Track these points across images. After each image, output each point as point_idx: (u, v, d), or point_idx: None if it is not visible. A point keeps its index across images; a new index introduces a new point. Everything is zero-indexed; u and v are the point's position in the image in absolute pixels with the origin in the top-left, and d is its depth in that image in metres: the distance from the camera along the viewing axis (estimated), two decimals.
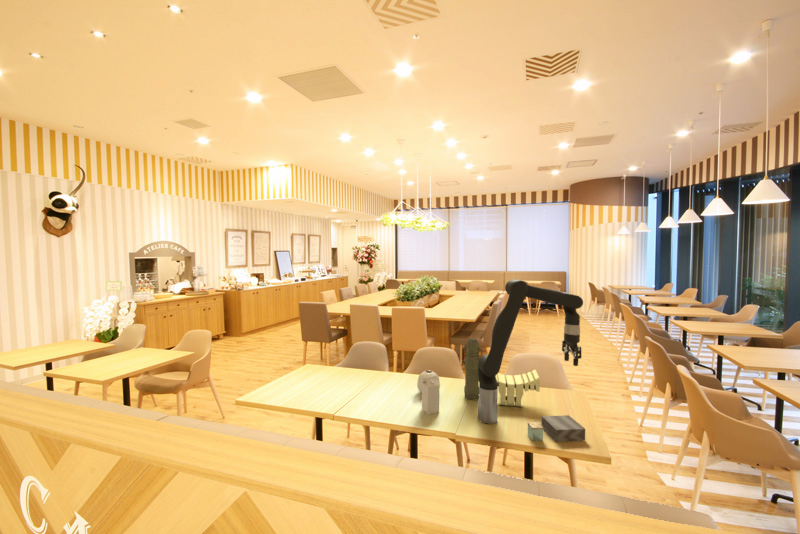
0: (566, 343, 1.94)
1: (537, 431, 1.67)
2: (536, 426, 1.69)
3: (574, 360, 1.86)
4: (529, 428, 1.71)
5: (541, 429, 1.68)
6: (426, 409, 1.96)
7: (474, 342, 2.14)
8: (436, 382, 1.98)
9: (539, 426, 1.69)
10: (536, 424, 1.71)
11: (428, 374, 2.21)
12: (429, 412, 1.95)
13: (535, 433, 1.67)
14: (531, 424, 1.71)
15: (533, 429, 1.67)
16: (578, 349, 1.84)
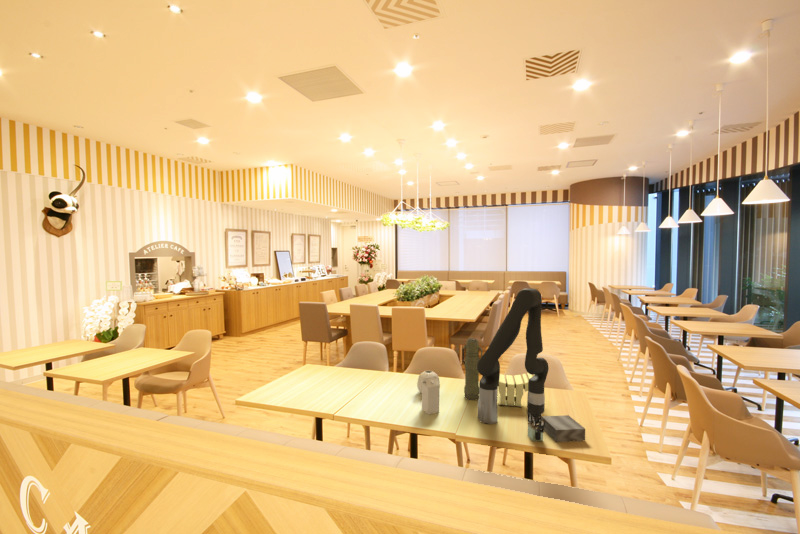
0: (530, 411, 1.73)
1: None
2: None
3: (536, 433, 1.67)
4: (529, 428, 1.71)
5: None
6: (426, 409, 1.96)
7: (474, 342, 2.14)
8: (436, 382, 1.98)
9: None
10: (536, 424, 1.71)
11: (428, 374, 2.20)
12: (429, 412, 1.95)
13: (535, 433, 1.67)
14: (531, 424, 1.71)
15: (533, 429, 1.67)
16: (541, 424, 1.63)
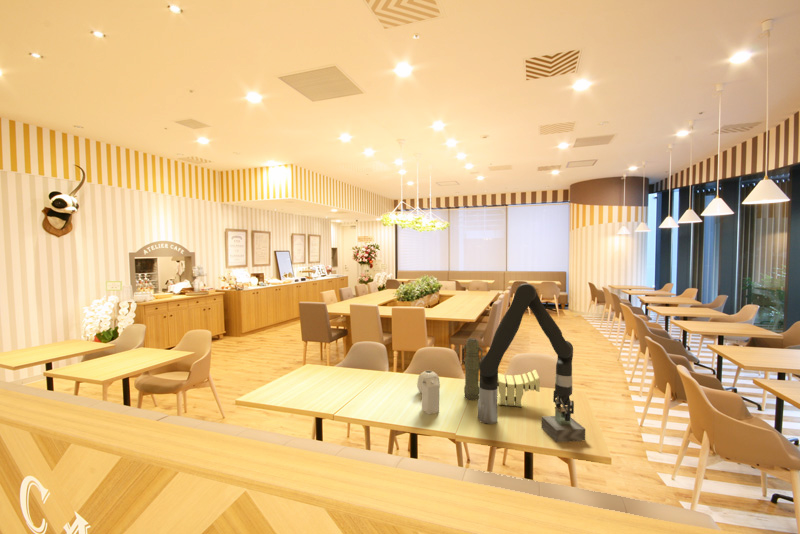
0: (557, 394, 1.77)
1: None
2: (564, 410, 1.73)
3: (566, 415, 1.69)
4: (557, 412, 1.75)
5: None
6: (426, 409, 1.96)
7: (474, 342, 2.14)
8: (436, 382, 1.98)
9: None
10: (563, 408, 1.75)
11: (428, 374, 2.20)
12: (429, 412, 1.95)
13: (563, 416, 1.72)
14: (559, 408, 1.75)
15: (561, 413, 1.72)
16: (570, 404, 1.67)
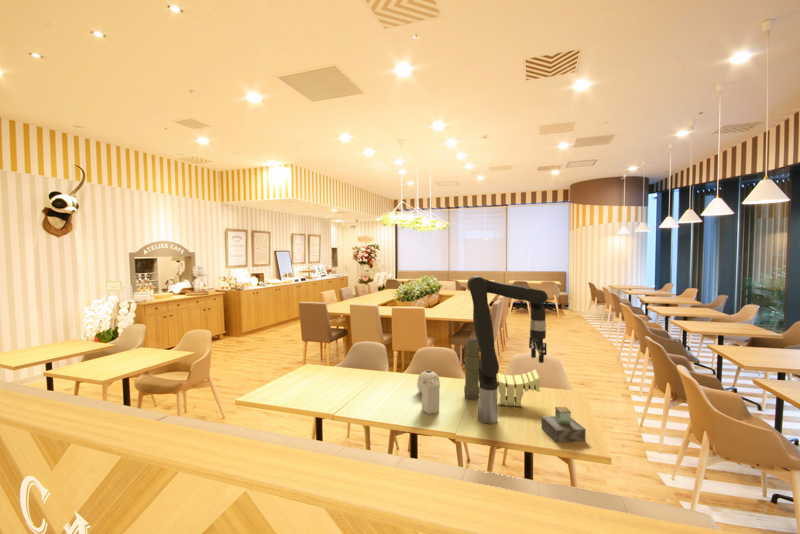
0: (532, 339, 1.88)
1: (564, 414, 1.72)
2: (563, 410, 1.73)
3: (539, 357, 1.81)
4: (556, 412, 1.75)
5: (568, 413, 1.71)
6: (426, 409, 1.96)
7: (474, 342, 2.14)
8: (436, 382, 1.98)
9: (566, 410, 1.72)
10: (564, 408, 1.75)
11: (428, 374, 2.20)
12: (429, 412, 1.95)
13: (562, 416, 1.72)
14: (559, 408, 1.75)
15: (560, 413, 1.71)
16: (543, 345, 1.78)
